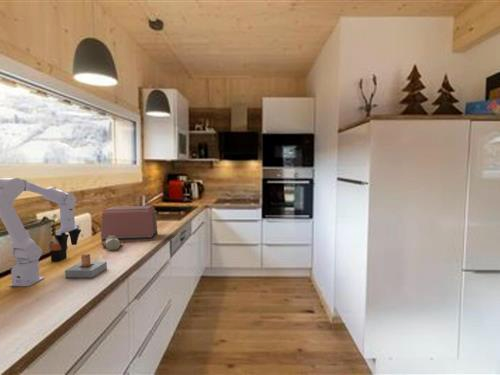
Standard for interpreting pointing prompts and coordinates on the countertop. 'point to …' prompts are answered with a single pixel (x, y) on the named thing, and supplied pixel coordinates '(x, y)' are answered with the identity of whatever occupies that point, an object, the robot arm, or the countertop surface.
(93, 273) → the socket block
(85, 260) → the peg
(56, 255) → the battery
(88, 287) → the countertop surface
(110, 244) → the ceramic sculpture
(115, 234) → the toaster
